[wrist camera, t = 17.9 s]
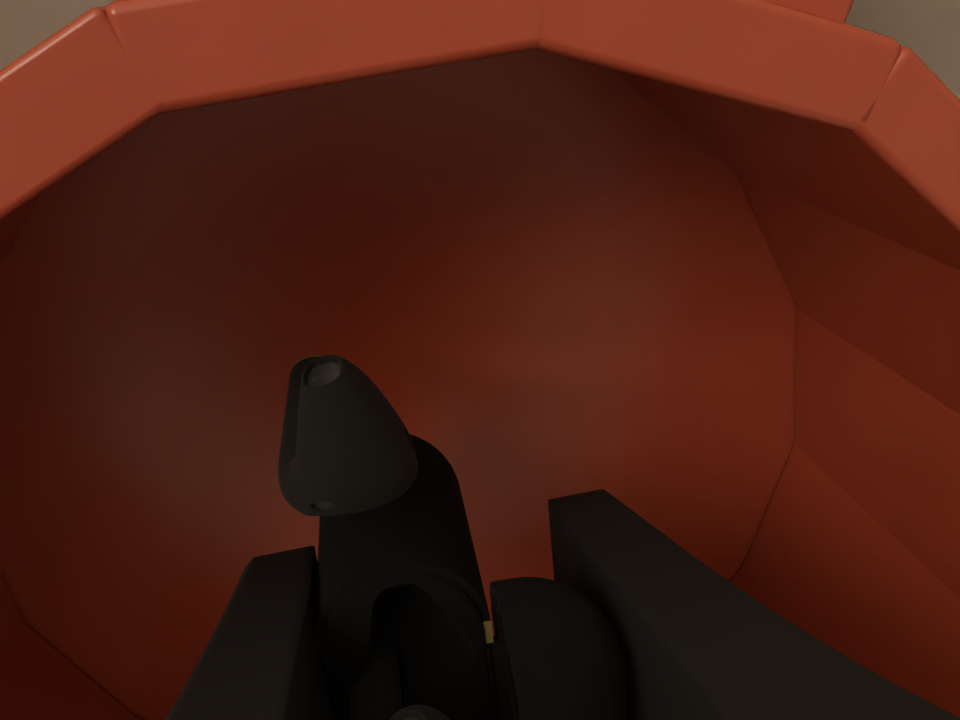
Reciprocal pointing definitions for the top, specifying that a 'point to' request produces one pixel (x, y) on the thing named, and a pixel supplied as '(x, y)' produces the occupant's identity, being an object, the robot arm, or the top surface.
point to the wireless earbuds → (424, 578)
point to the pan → (475, 307)
